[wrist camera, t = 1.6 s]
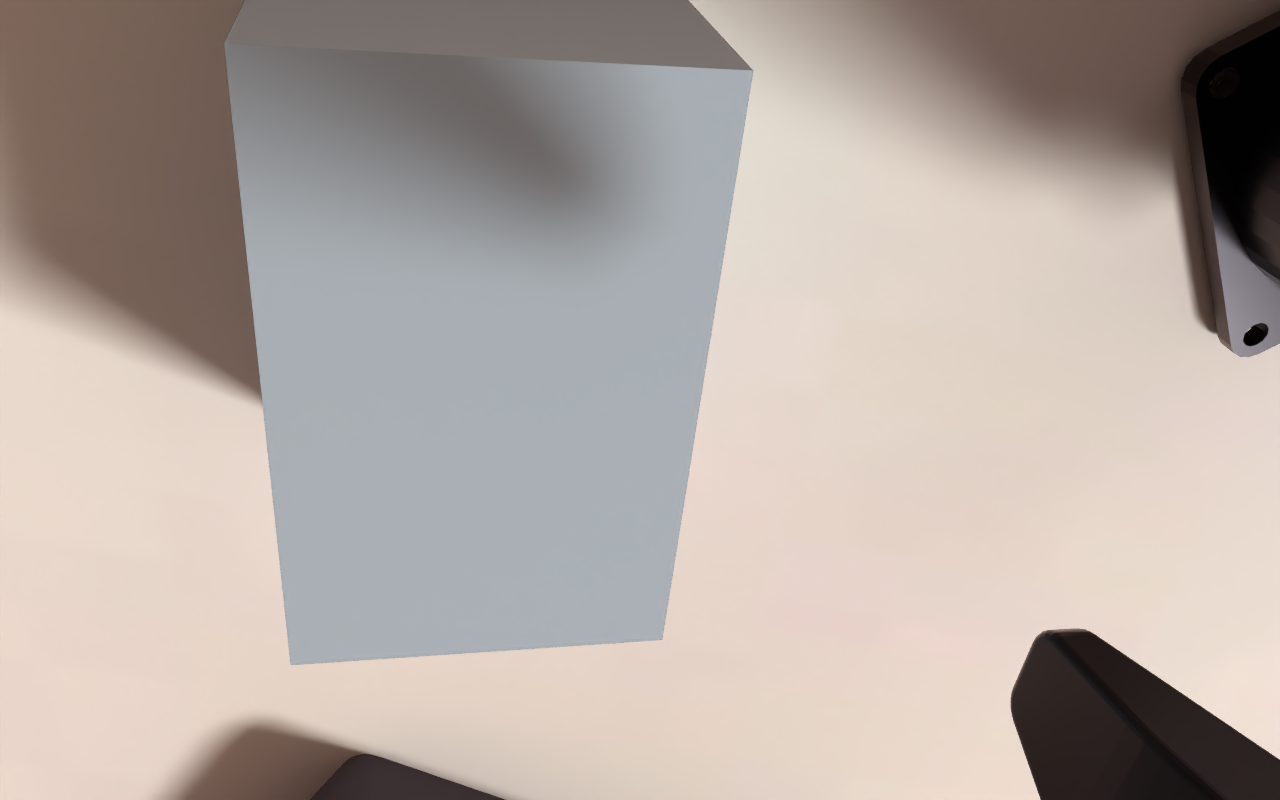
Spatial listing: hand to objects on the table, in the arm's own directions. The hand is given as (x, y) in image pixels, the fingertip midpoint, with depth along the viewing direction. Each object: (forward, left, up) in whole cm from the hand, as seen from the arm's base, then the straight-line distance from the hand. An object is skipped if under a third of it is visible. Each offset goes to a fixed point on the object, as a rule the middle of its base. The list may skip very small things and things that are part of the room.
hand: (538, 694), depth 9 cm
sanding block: (0, 0, -10) cm, 10 cm away
